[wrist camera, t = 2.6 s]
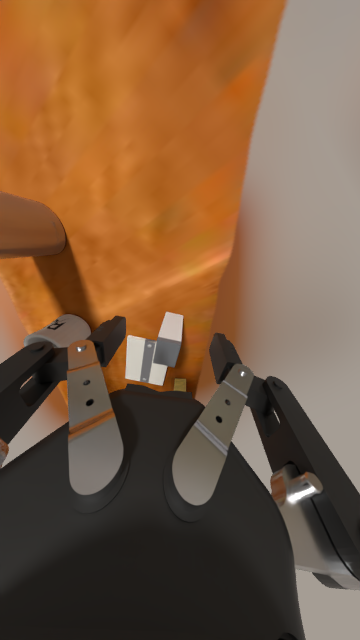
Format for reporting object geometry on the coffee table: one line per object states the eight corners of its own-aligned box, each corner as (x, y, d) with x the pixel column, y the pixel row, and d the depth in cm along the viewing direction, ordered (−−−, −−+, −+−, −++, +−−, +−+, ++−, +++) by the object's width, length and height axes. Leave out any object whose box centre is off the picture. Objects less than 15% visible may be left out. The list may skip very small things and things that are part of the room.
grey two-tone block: (162, 330, 39) (152, 362, 28) (166, 311, 36) (156, 339, 25) (178, 334, 39) (174, 367, 28) (183, 315, 36) (181, 345, 26)
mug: (80, 309, 37) (46, 330, 28) (98, 337, 41) (73, 362, 32) (43, 319, 39) (1, 340, 30) (63, 344, 43) (32, 369, 34)
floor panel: (126, 376, 49) (125, 378, 48) (128, 335, 40) (127, 337, 39) (163, 383, 49) (162, 386, 48) (172, 344, 41) (172, 347, 40)
